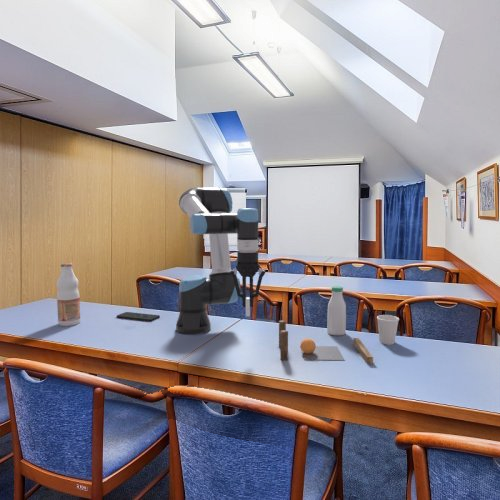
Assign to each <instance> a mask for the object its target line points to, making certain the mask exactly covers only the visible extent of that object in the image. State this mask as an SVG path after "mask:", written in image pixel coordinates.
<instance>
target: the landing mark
mask: <svg viewBox="0 0 500 500" xmlns="http://www.w3.org/2000/svg"><path fill="white" fill-rule="evenodd" d="M299 347H300V348H301V345H300V346H299ZM301 354H302V357H303V361H341V362H342V361H344V362H345V361H346V360H345V358H344V356H343V355H342V352H341V351H340V349H339V347H338V346H336V345H334V346H333V345H316V348H315V351H314V352H313V353H311V354H306V353H304V352H303V351H302V350H301Z"/></svg>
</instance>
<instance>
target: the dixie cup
mask: <svg viewBox="0 0 500 500" xmlns="http://www.w3.org/2000/svg"><path fill="white" fill-rule="evenodd" d="M376 319H377V328H378V329H377V330H378V340H379V343H380V344H383V345H389V346H390V345H391V346H392V345H394V344H395V342H396V337H397V331H398V325H399V321H400V318H399V317H397V316H395V315H391V314H381V315H377V316H376Z"/></svg>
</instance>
